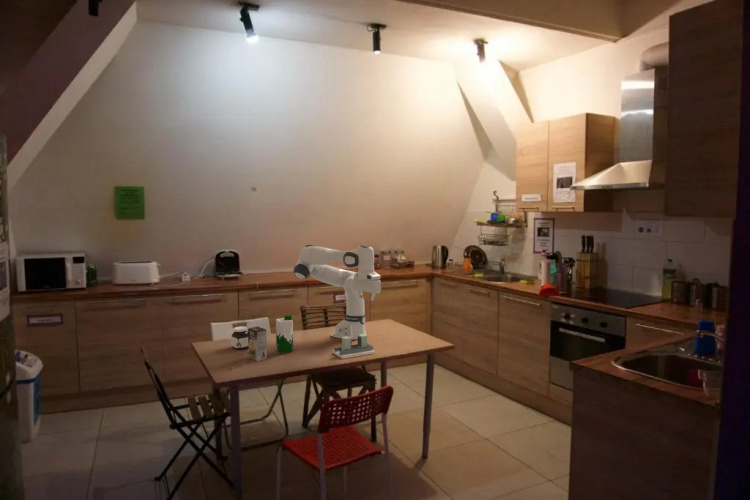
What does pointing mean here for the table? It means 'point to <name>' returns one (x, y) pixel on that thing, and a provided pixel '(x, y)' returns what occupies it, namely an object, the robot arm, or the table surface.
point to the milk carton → (284, 334)
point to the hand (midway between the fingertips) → (366, 299)
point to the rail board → (355, 349)
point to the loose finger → (346, 343)
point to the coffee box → (257, 343)
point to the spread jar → (239, 338)
